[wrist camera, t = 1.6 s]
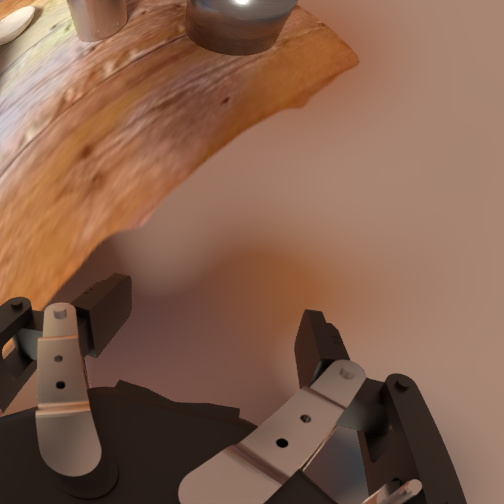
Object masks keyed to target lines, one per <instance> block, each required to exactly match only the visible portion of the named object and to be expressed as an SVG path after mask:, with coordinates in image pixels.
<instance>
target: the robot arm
mask: <svg viewBox="0 0 504 504" xmlns="http://www.w3.org/2000/svg"><path fill="white" fill-rule="evenodd" d="M67 3H68V6H69V9H70V13H71V16H72V19H73V22H74V25H75V28H76V31H77V34H78V37H79V38H80V39H81V40H83V41H87V42H90V41H98V40H101V39H104V38H107V37H109V36H111V35H113V34H115V33H116V32H118V31H119V30H120V29H121V28H123V26H124V25H125V24H126V22H127V9H126V0H67ZM131 310H132V281H131V277H130V276H129V275H125V274H120V273H114V274H113V275H111V276H110V277H109V278H107V279H106V280H102V281H100V282H97V283H95V284H94V285H92V286H91V287H90V288H89V289H87V290H86V291H85V292H84V293H82V294H81V295H80V296H79V297H77V298H76V299H75V300H74V301H72V302H71V303H70V304H68V303H56V304H52V305H50V306H49V307H47V308H46V309H45V312H42V311H35V310H32V306H31V302H30V300H29V299H27V298H25V297H15V298H12V299H10V300H8V301H7V302H5V303H4V304H3V305H1V306H0V504H338V503H337V502H336V501H335V500H333V499H332V498H331V497H330V496H329V495H328V494H327V493H325V492H324V491H323V490H322V489H321V488H320V487H319V486H318V485H317V484H316V483H315V482H314V481H313V480H312V479H311V478H310V477H308V475H307V474H306V473H305V472H304V469H305V468H306V467H307V466H308V464H309V463H310V462H311V461H312V459H313V458H314V457H315V455H316V454H317V453H318V452H319V450H320V449H321V448H322V447H323V445H324V444H325V443H326V441H327V440H328V439H329V437H330V436H331V435H332V433H333V432H334V431H335V429H336V428H337V426H341V427H345V428H349V429H353V430H357V435H358V439H359V444H360V449H361V454H362V459H363V465H364V470H365V475H366V481H367V487H368V493H369V498H367V499H366V500H365V501H364V502H363V503H362V504H467V503H466V500H465V497H464V494H463V491H462V488H461V485H460V482H459V480H458V477H457V475H456V472H455V469H454V466H453V464H452V461H451V459H450V456H449V454H448V451H447V449H446V447H445V444H444V442H443V440H442V437H441V435H440V433H439V431H438V428H437V426H436V424H435V422H434V420H433V418H432V416H431V413H430V411H429V409H428V407H427V405H426V403H425V401H424V399H423V397H422V395H421V393H420V391H419V389H418V387H417V385H416V383H415V382H414V381H413V380H412V379H410V378H409V377H407V376H405V375H403V374H397V373H396V374H391V375H389V376H388V377H387V378H386V380H385V382H380V381H376V380H372V379H369V378H366V373H365V371H364V369H363V368H362V367H361V366H360V365H358V364H357V363H355V362H352V361H350V358H349V356H348V353H347V351H346V348H345V346H344V344H343V341H342V339H341V336H340V334H339V331H338V330H337V329H336V328H335V327H334V326H333V325H332V324H331V323H326V321H325V318H324V316H323V313H322V312H321V311H315V310H307V309H306V310H305V311H304V313H303V316H302V319H301V323H300V326H299V330H298V333H297V336H296V340H295V346H294V352H295V358H296V364H297V372H298V379H299V386H300V390H299V391H298V392H297V393H296V394H295V395H294V396H293V397H292V398H291V399H290V400H289V401H287V403H285V404H284V405H283V406H282V407H281V408H280V409H279V410H278V411H277V412H275V413H274V414H273V415H272V416H271V417H270V418H269V419H267V420H266V421H265V422H264V423H263V424H262V425H260V426H259V427H258V426H257V425H255V424H253V423H252V422H249V421H247V420H245V419H242V418H240V417H239V412H240V409H239V408H233V407H226V406H220V405H215V404H210V403H180V402H174V401H171V400H169V399H167V398H165V397H163V396H161V395H159V394H157V393H155V392H153V391H151V390H149V389H147V388H144V387H141V386H137V385H134V384H131V383H128V382H125V381H122V380H119V382H118V383H117V385H116V386H115V387H95V388H91V387H90V382H89V377H88V373H87V367H86V362H85V357H86V355H89V356H92V357H94V358H98V356H99V355H100V354H101V352H102V351H103V350H104V348H105V347H106V346H107V344H108V343H109V342H110V341H111V340H112V338H113V337H114V336H115V334H116V333H117V332H118V331H119V329H120V328H121V327H122V326H123V324H124V323H125V322H126V321H127V319H128V318H129V316H130V314H131ZM11 338H13V342H14V345H15V349H14V350H13V351H12V352H11V353H10V354H9V355H8V356H7V357H6V358H5V359H3V357H2V349H3V346H4V345H5V344H6V343H7V342H8V341H9V340H10V339H11ZM36 369H37V391H38V392H37V393H38V406H36V407H33V408H30V409H27V410H24V411H20V412H17V413H14V414H10V415H6V416H3V413H4V411H5V410H6V409H7V407H8V406H9V404H10V403H11V402H12V400H13V399H14V398H15V396H16V395H17V394H18V392H19V391H20V390H21V388H22V387H23V385H24V384H25V383H26V382H27V381H28V379H29V378H30V377H31V375H32V374H33V373H34V372H35V370H36Z"/></svg>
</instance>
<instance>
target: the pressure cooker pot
mask: <svg viewBox="0 0 504 504" xmlns="http://www.w3.org/2000/svg"><path fill="white" fill-rule="evenodd" d="M297 1H298V0H188V1H187V10H186V19H185V30H186V33H187V35H188V36H189V37H190V39H191V40H192V41H194V42H195V43H196V44H198V45H199V46H201V47H203V48H205V49H208V50H210V51H213V52H217V53H221V54H227V55H237V56H240V55H252V54H257V53H261V52H263V51H266V50H267V49H269V48H270V47H272V46H273V45H274V43H275V42H276V40H277V38H278V36H279V34H280V32H281V30H282V29H283V27H284V25H285V23H286V21H287V19H288V17H289V16H290V14H291V12H292V10H293V8H294V6H295V5H296V3H297Z"/></svg>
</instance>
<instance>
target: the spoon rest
mask: <svg viewBox="0 0 504 504" xmlns="http://www.w3.org/2000/svg"><path fill="white" fill-rule="evenodd" d="M34 14H35V7H34V6H26V7H23V8H21V9H19V10H17V11H15V12H13V13H11V14H10V15H8V16H7V17H5V18H4V19H3V20H1V21H0V45H3V44H6V43H9V42H11V41H12V40H14V39H15V38H16V37H18V36H19V35H20V34H21V33H22V32H23V31H24V30H25V28H26V27H27V26H28V25H29V23H30V22H31V20H32V18H33V16H34Z"/></svg>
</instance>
